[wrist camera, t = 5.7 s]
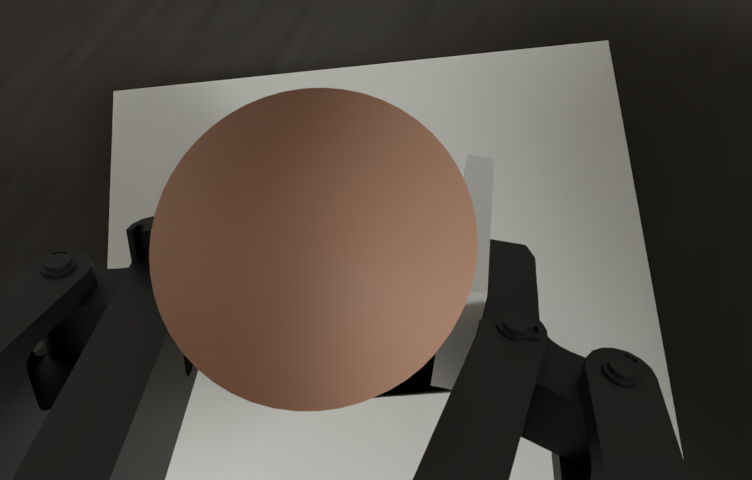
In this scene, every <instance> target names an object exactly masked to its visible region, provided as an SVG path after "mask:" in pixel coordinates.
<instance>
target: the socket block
mask: <svg viewBox="0 0 752 480" xmlns="http://www.w3.org/2000/svg"><path fill="white" fill-rule="evenodd" d="M303 88H335V89H345V90H350V91H355V92H359V93H364V94H367V95H370V96H373V97H376V98H378V99H381V100H384V101H386V102H388V103H390V104H392V105H394V106H396V107H398V108H400V109H402V110H403V111H405V112H406V113H408V114H409V115H411V116H412V117H414V118H415V119H417V120H418V121H419V122H420V123H421V124H422V125H424V126H425V127H426V128H427V129H428V130H429V131H430V132H432V133H433V134H434V136H435V137H436V138H437V139H438V140H439V141H440V142H441V144H442V145H443V146H444V147H445V148H446V149H447V151H448V152H449V154H450V155H451V157H452V158H453V160H454V161H455V163H456V164H457V166H458V168H459V170H460V172H461V174H462V176H463V178H464V173H465V168H466V162H467V157H468V155H474V156H480V157H487V158H494V171H493V191H492V211H491V232H490V239H493V240H499V241H505V242H511V243H517V244H523V245H526V246H527V247H528V248H529V250H530V251H531V253H532V254H533V255H534V257H535V261H536V275H537V290H538V304H539V318H540V321H541V322H542V323H543V325H544V326H545V328H546V330H547V336H548V337H549V338H550V339H551V340H552V341H553V342H555V343H556V344H558V345H559V346H561V347H563V348H565V349H567V350H569V351H571V352H573V353H576V354H578V355H580V356H583V357H585V358H586V357H587V356H588V355H589V353H590V352H591V351H592V350H596V349H599V348H602V347H603V348H617V349H620V350H623V351H627V352H630V353H631V354H633V355H635V356H637V357H639V358H640V359H642V360H643V361H644V362H645V363H646V364H647V365H649V366H650V367H651V368H652V370H653V372H654V373H655V375H656V377H657V379H658V382H659V385H660V388H661V391H662V394H663V398H664V401H665V404H666V407H667V410H668V413H669V416H670V419H671V422H672V425H673V429H674V432H675V435H676V438H677V441H678V444H679V447H680V450H681V453H682V448H681V442H680V436H679V431H678V425H677V420H676V414H675V409H674V403H673V398H672V392H671V387H670V381H669V375H668V370H667V364H666V359H665V353H664V348H663V342H662V337H661V331H660V325H659V320H658V314H657V309H656V303H655V298H654V292H653V287H652V281H651V275H650V270H649V264H648V259H647V253H646V248H645V242H644V237H643V231H642V226H641V220H640V214H639V209H638V203H637V198H636V192H635V187H634V181H633V176H632V170H631V164H630V159H629V153H628V148H627V142H626V137H625V131H624V126H623V120H622V115H621V109H620V103H619V98H618V92H617V87H616V81H615V76H614V70H613V65H612V59H611V53H610V48H609V42H608V40H606V41H596V42H587V43H577V44H567V45H558V46H548V47H538V48H528V49H519V50H509V51H499V52H490V53H480V54H470V55H460V56H451V57H441V58H431V59H422V60H412V61H402V62H392V63H383V64H373V65H363V66H354V67H344V68H334V69H324V70H315V71H305V72H295V73H286V74H276V75H266V76H256V77H247V78H237V79H227V80H218V81H208V82H198V83H188V84H179V85H169V86H159V87H150V88H140V89H130V90H120V91H114V93H113V121H112V150H111V178H110V206H109V235H108V263H107V269H115V268H129V266H130V264H131V262H132V261H131V256H130V250H129V244H128V238H127V233H126V229H127V228H128V227H129V226H130V225H131V224H133V223H135V222H137V221H139V220H141V219H144V218H148V217H152V216H154V215H155V211H156V208H157V206H158V203H159V200H160V197H161V194H162V192H163V190H164V188H165V186H166V184H167V182H168V180H169V178H170V176H171V174H172V172H173V171H174V169H175V168H176V166H177V165H178V163H179V162H180V160H181V159H182V157H183V156H184V155H185V153H186V152H187V151H188V150H189V149H190V148H191V146H192V145H193V144H194V143H195V142H196V141H197V140H198V139H199V138H200V137H201V136H202V135H203V134H204V133H205V132H206V131H207V130H208V129H209V128H211V127H212V126H213V125H215V124H216V123H217V122H219V121H220V120H221V119H223V118H224V117H225V116H227V115H228V114H230V113H232V112H234V111H236V110H237V109H239V108H241V107H243V106H244V105H247V104H249V103H251V102H254V101H256V100H258V99H261V98H263V97H266V96H270V95H273V94H277V93H280V92H284V91H290V90H296V89H303ZM451 391H452V390H442V391H428V392H414V393H400V394H386V395H378V396H376V397H373V398H371V399H369V400H366V401H364V402H361V403H357V404H354V405H350V406H347V407H343V408H338V409H331V410H324V411H289V410H282V409H275V408H270V407H267V406H263V405H260V404H256V403H253V402H250V401H248V400H245V399H243V398H241V397H239V396H236V395H234V394H232V393H230V392H228V391H227V390H225V389H224V388H222V387H220V386H219V385H217V384H216V383H214V382H212V381H211V380H210V379H209V378H208V377H206V376H205V375H204V374H203V373H202V372H200V371H199V370H198V373H197V376H196V379H195V382H194V386H193V389H192V392H191V396H190V399H189V402H188V406H187V409H186V412H185V415H184V419H183V422H182V425H181V429H180V432H179V435H178V438H177V442H176V445H175V448H174V452H173V455H172V458H171V461H170V465H169V468H168V471H167V475H166V478H165V480H413V477H414V475H415V473H416V471H417V468H418V466H419V464H420V461H421V459H422V457H423V455H424V452H425V450H426V448H427V446H428V443H429V441H430V439H431V436H432V434H433V432H434V430H435V427H436V425H437V423H438V420H439V418H440V416H441V414H442V411H443V409H444V407H445V404H446V402H447V400H448V398H449V395H450V393H451ZM682 456H683V453H682ZM683 460H684V459H683ZM509 480H554V475H553V465H552V452H551V451H549V450H547V449H545V448H543V447H541V446H539V445H537V444H535V443H533V442H531V441H529V440H527V439H525V438H522V437H521V438H520V441H519V445H518V449H517V452H516V456H515V460H514V463H513V467H512V470H511V474H510V478H509Z"/></svg>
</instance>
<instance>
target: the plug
mask: <svg viewBox="0 0 752 480" xmlns="http://www.w3.org/2000/svg"><path fill="white" fill-rule="evenodd" d="M477 248H478V244H477V224H476V219H475V213H474V208H473V203H472V200H471V197H470V194H469V191H468V188H467V185H466V183H465V181H464V178H463V176H462V174H461V172H460V170H459V168H458V166H457V164H456V163H455V161H454V160H453V158H452V157H451V155H450V154H449V152H448V151H447V149H446V148H445V147H444V146H443V145H442V144H441V142H440V141H439V140H438V139H437V138H436V137H435V136H434V134H433V133H432V132H430V131H429V130H428V129H427V128H426V127H425V126H424V125H422V124H421V123H420V122H419V121H418V120H417V119H415V118H414V117H412V116H411V115H409V114H408V113H406V112H405V111H403V110H402V109H400V108H398V107H396V106H394V105H392V104H390V103H388V102H386V101H384V100H381V99H378V98H376V97H373V96H370V95H367V94H364V93H359V92H355V91H350V90H345V89H335V88H303V89H296V90H290V91H284V92H280V93H277V94H273V95H270V96H266V97H263V98H261V99H258V100H256V101H254V102H251V103H249V104H247V105H244V106H243V107H241V108H239V109H237V110H236V111H234V112H232V113H230V114H228V115H227V116H225V117H224V118H223V119H221V120H220V121H219V122H217V123H216V124H215V125H213V126H212V127H211V128H209V129H208V130H207V131H206V132H205V133H204V134H203V135H202V136H201V137H200V138H199V139H198V140H197V141H196V142H195V143H194V144H193V145H192V146H191V148H190V149H189V150H188V151H187V152H186V153H185V155H184V156H183V157H182V159H181V160H180V162H179V163H178V165H177V166H176V168H175V169H174V171H173V172H172V174H171V176H170V178H169V180H168V182H167V184H166V186H165V188H164V190H163V192H162V194H161V197H160V200H159V203H158V206H157V208H156V211H155V215H154V220H153V225H152V229H151V236H150V248H149V263H150V277H151V282H152V288H153V293H154V297H155V300H156V303H157V306H158V309H159V312H160V315H161V317H162V319H163V321H164V323H165V326H166V328H167V330H168V332H169V334H170V335H171V337H172V338H173V340H174V341H175V343H176V344H177V346H178V347H179V349H180V350H181V352H182V353H183V354H184V355H185V356H186V357H187V358H188V359H189V361H190V362H191V363H192V364H193V365H194V366H195V367H196V368H197V369H198V370H199V371H200V372H202V373H203V374H204V375H205V376H206V377H208V378H209V379H210V380H211V381H212V382H214V383H216V384H217V385H219V386H220V387H222V388H224V389H225V390H227V391H228V392H230V393H232V394H234V395H236V396H239V397H241V398H243V399H245V400H248V401H250V402H253V403H256V404H260V405H263V406H267V407H270V408H275V409H282V410H289V411H324V410H331V409H338V408H343V407H347V406H350V405H354V404H357V403H361V402H364V401H366V400H369V399H371V398H373V397H376V396H378V395H380V394H383V393H385V392H387V391H389V390H391V389H393V388H394V387H396V386H398V385H399V384H401V383H402V382H404V381H406V380H407V379H409V378H410V377H411V376H412V375H413V374H415V373H416V372H417V371H418V370H420V369H421V368H422V367H423V366H424V365H425V364H426V363H427V362H428V361H429V360H430V359H431V358H432V357H433V356H434V355H435V354H436V352H437V351H438V350H439V348H440V347H441V346H442V344H443V343H444V341H445V340H446V339H447V337H448V336H449V334H450V333H451V332H452V330H453V328H454V326H455V324H456V322H457V321H458V319H459V317H460V315H461V313H462V311H463V309H464V306H465V304H466V301H467V298H468V296H469V293H470V290H471V286H472V282H473V278H474V273H475V269H476V259H477Z"/></svg>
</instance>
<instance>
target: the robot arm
mask: <svg viewBox="0 0 752 480" xmlns="http://www.w3.org/2000/svg"><path fill="white" fill-rule="evenodd" d="M493 171H494V158H487V157H480V156H474V155H468V157H467V162H466V168H465V173H464V181H465V183H466V185H467V188H468V191H469V194H470V197H471V200H472V203H473V208H474V213H475V219H476V224H477V244H478V248H477V259H476V269H475V273H474V278H473V282H472V286H471V290H470V293H469V296H468V298H467V301H466V304H465V306H464V309H463V311H462V313H461V315H460V317H459V319H458V321H457V322H456V324H455V326H454V328H453V330H452V332H451V333H450V334H449V336H448V337H447V339H446V340H445V341H444V343H443V344H442V346H441V347H440V348H439V350H438V351H437V352H436V354H435V360H434V366H433V373H432V379H431V386H436V387H441V388H446V389H451V390H452V391H451V393H450V395H449V398H448V400H447V402H446V404H445V407H444V409H443V411H442V414H441V416H440V418H439V420H438V423H437V425H436V427H435V430H434V432H433V434H432V436H431V439H430V441H429V443H428V446H427V448H426V450H425V452H424V455H423V457H422V459H421V461H420V464H419V466H418V468H417V471H416V473H415V475H414V477H413V480H509V478H510V474H511V470H512V467H513V463H514V460H515V456H516V452H517V449H518V445H519V441H520V438H521V437H522V438H525V439H527V440H529V441H531V442H533V443H535V444H537V445H539V446H541V447H543V448H545V449H547V450H549V451H551V452H552V465H553V475H554V480H690V478H689V475H688V472H687V469H686V466H685V463H684V460H683V456H682V453H681V450H680V447H679V444H678V441H677V438H676V435H675V432H674V429H673V425H672V422H671V419H670V416H669V413H668V410H667V407H666V404H665V401H664V398H663V394H662V391H661V388H660V385H659V382H658V379H657V377H656V375H655V373H654V372H653V370H652V368H651V367H650V366H649V365H647V364H646V363H645V362H644V361H643V360H642V359H640V358H639V357H637V356H635V355H633V354H631V353H630V352H627V351H623V350H620V349H617V348H603V347H602V348H599V349H596V350H592V351H591V352H590V353H589V355H588V356H587V357H586V358H585V357H583V356H580V355H578V354H576V353H573V352H571V351H569V350H567V349H565V348H563V347H561V346H559V345H558V344H556V343H555V342H553V341H552V340H551V339H550V338H549V337H548V336H547V330H546V328H545V326H544V325H543V323H542V322H541V321H540V318H539V304H538V290H537V275H536V261H535V257H534V255H533V254H532V253H531V251H530V250H529V248H528V247H527V246H526V245H523V244H517V243H511V242H505V241H499V240H493V239H490V232H491V211H492V191H493ZM153 220H154V216H152V217H148V218H144V219H141V220H139V221H137V222H135V223H133V224H131V225H130V226H129V227H128V228H127V229H126V233H127V238H128V244H129V250H130V256H131V261H132V262H131V264H130V266H129V268H115V269H94V264H93V260H92V258H91V257H90V256H89V255H88V254H87V253H84V252H82V251H79V250H68V249H66V250H56V251H52V252H49V253H46V254H43V255H40V256H39V257H37V258H35V259H33V260H32V261H30V262H29V263H28V264H26V265H25V266H24V267H23V268H21V269H20V270H19V271H17V272H16V273H15V274H14V275H12V276H11V277H10V278H9V279H7V280H6V281H5V282H3V283H2V284H1V285H0V480H10V479H11V478H12V477H13V476H14V477H13V479H12V480H165V478H166V475H167V471H168V468H169V465H170V461H171V458H172V455H173V452H174V448H175V445H176V442H177V438H178V435H179V432H180V429H181V425H182V422H183V419H184V415H185V412H186V409H187V406H188V402H189V399H190V396H191V392H192V389H193V386H194V382H195V379H196V376H197V373H198V369H197V368H196V367H195V366H194V365H193V364H192V363H191V362H190V361H189V359H188V358H187V357H186V356H185V355H184V354H183V353H182V352H181V350H180V349H179V347H178V346H177V344H176V343H175V341H174V340H173V338H172V337H171V335H170V334H169V332H168V330H167V328H166V326H165V323H164V321H163V319H162V317H161V315H160V312H159V309H158V306H157V303H156V300H155V297H154V293H153V288H152V282H151V277H150V263H149V248H150V236H151V229H152V225H153ZM42 339H43V342H44V346H43V347H42V348H41V349H39V350H38V351H37V352H35V353H34V352H33V348H34V347H35V346H36V345H37V344H38V343H39V342H40V341H41V340H42Z"/></svg>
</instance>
